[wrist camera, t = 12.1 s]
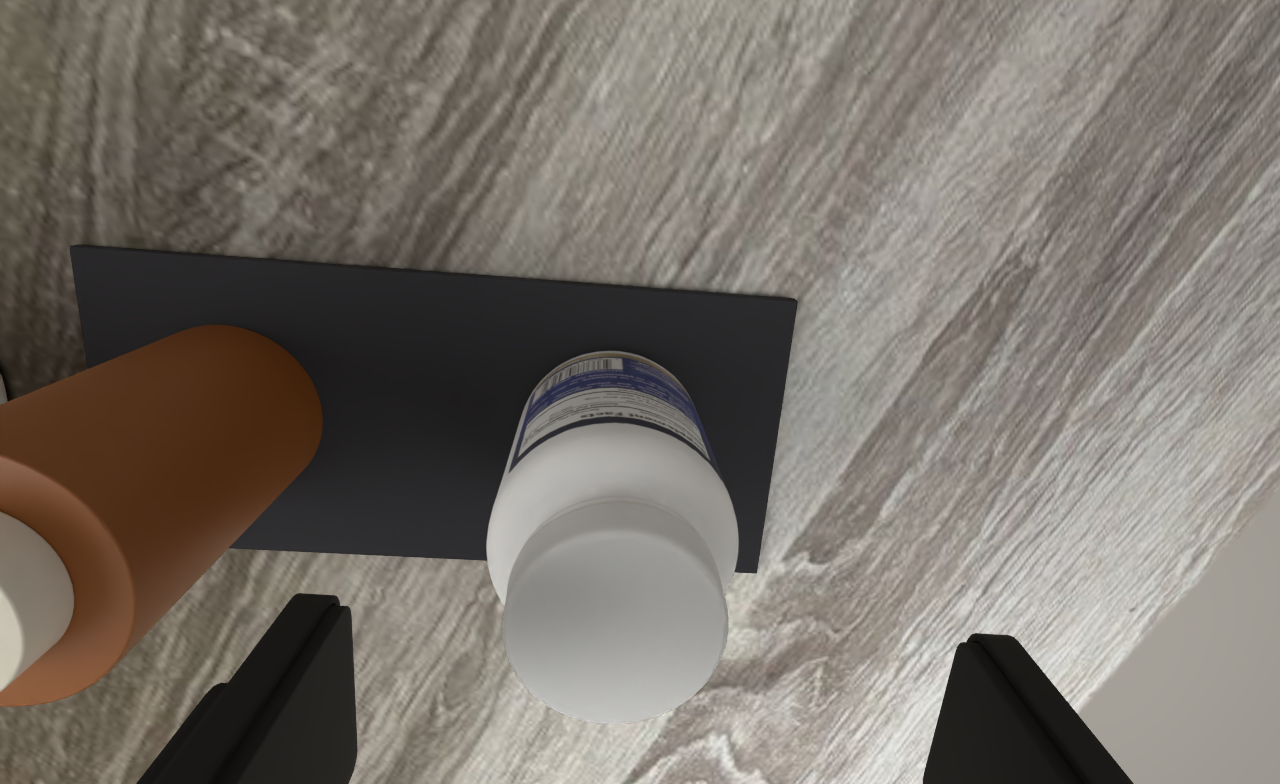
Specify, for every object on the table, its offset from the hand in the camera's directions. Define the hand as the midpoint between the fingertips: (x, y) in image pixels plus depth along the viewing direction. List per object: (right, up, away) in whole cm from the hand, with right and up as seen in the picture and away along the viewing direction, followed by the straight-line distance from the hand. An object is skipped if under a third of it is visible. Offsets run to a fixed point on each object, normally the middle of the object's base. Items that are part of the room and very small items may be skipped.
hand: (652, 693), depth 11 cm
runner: (-6, +4, +11) cm, 13 cm away
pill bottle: (-1, +3, +11) cm, 12 cm away
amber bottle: (-12, +4, +10) cm, 16 cm away
